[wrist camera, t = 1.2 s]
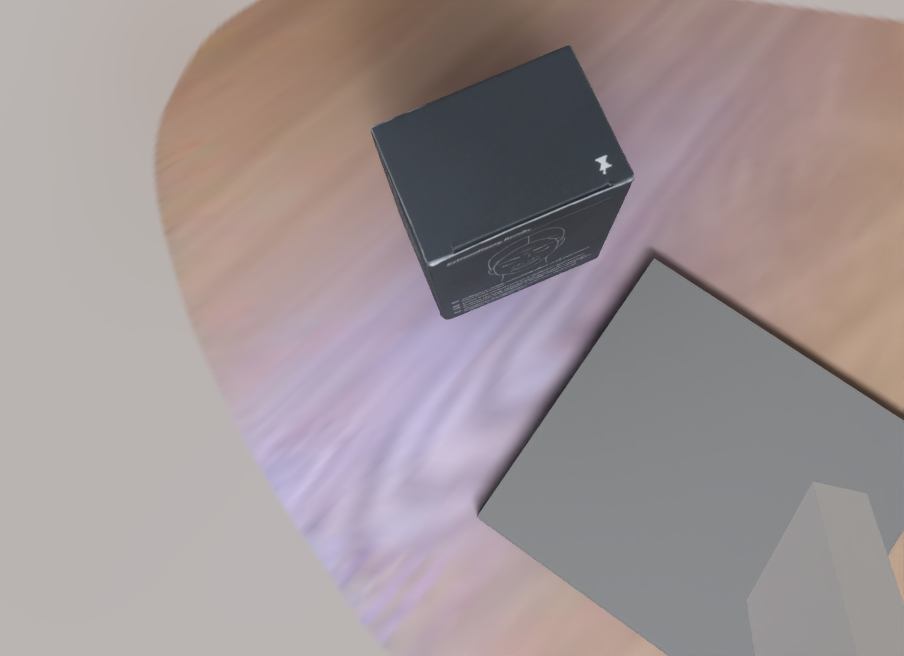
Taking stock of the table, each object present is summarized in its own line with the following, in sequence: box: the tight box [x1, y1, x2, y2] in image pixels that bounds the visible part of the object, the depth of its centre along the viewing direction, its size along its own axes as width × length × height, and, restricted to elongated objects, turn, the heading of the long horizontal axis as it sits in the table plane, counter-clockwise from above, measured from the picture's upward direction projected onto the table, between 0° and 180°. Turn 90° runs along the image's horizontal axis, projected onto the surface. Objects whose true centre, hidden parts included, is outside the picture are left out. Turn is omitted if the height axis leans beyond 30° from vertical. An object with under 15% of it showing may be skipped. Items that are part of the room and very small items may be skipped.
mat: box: [477, 258, 904, 656], centre depth 36 cm, size 15×14×1 cm
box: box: [371, 46, 634, 319], centre depth 33 cm, size 8×6×11 cm
